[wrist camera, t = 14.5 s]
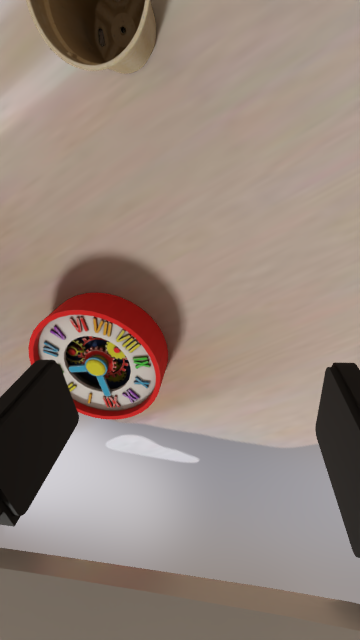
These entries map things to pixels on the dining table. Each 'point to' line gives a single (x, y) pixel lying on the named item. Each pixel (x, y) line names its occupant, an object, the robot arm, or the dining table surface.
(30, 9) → the flower pot
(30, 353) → the toy clock
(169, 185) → the dining table surface
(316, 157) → the dining table surface
